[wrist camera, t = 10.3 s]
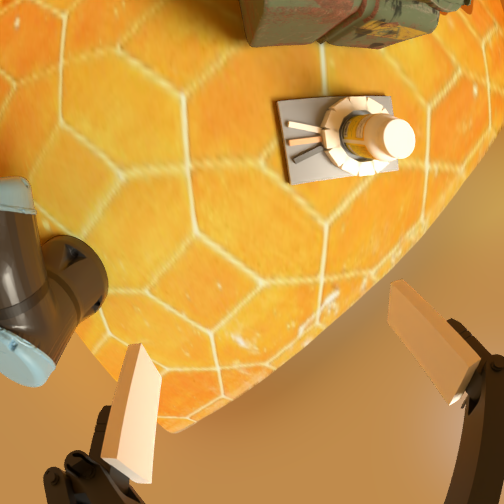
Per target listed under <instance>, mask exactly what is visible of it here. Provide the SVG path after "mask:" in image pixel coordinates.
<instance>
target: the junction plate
mask: <svg viewBox="0 0 504 504" xmlns="http://www.w3.org/2000/svg"><path fill="white" fill-rule="evenodd" d="M276 104H277V110H278V116H279V121H280V127H281V133H282V139H283V145H284V151H285V157H286V164H287V170H288V177H289V184H290V185H295V184H301V183H308V182H314V181H321V180H327V179H334V178H341V177H348V176H367V175H375V173H380V172H389V171H398V159H396V160H394V161H390V162H384V161H379V160H374V159H370V158H365V157H360V156H356V155H353V154H352V153H350V152H349V151H348V150H347V149H346V148H345V146H344V145H343V142H342V139H341V130H342V126H343V124H344V123H345V121H346V120H347V119H349V118H350V117H353V116H356V115H366V114H377V113H386V114H390V115H392V116H394V115H393V108H392V101H391V96H340V97H320V98H306V99H295V100H286V101H278V102H276Z"/></svg>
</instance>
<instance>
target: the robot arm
mask: <svg viewBox="0 0 504 504" xmlns="http://www.w3.org/2000/svg"><path fill="white" fill-rule="evenodd" d="M36 214H37V212H36V210H35V209H34V203H33V197H32V190H31V186H30V183H29V182H28V181H27V179H25V178H24V177H21V176H10V177H0V372H1V373H2V374H4V375H5V376H6V377H8V378H9V379H11V380H13V381H15V382H17V383H19V384H21V385H24V386H28V387H38V386H41V385H43V384H44V383H45V382H46V381H47V379H48V377H49V376H50V374H51V372H52V371H54V370H55V368H56V365H57V362H58V361H59V359H60V357H61V355H62V353H63V351H64V349H65V347H66V345H67V343H68V342H69V340H70V338H71V336H72V334H73V332H74V331H75V329H76V327H77V325H78V324H79V323H81V322H82V321H84V320H85V319H87V318H88V317H90V316H91V315H93V314H94V313H96V312H97V311H98V310H99V308H100V307H101V305H102V304H103V302H104V300H105V298H106V296H107V293H108V277H107V273H106V270H105V268H104V265H103V263H102V262H101V260H100V258H99V257H98V255H97V254H96V253H95V252H94V251H93V250H92V249H91V248H90V247H89V246H88V245H87V244H85V243H84V242H82V241H81V240H79V239H77V238H74V237H71V236H57V237H54V238H52V239H50V240H49V241H47V242H46V243H45V244H44V245H42V246H41V244H40V238H39V233H38V227H37V220H36ZM387 323H388V324H389V325H390V326H391V328H392V329H393V330H394V332H395V333H396V334H397V335H398V337H399V338H400V339H401V341H402V342H403V343H404V345H405V346H406V347H407V349H408V350H409V351H410V352H411V354H412V355H413V357H414V358H415V359H416V360H417V362H418V363H419V365H420V366H421V367H422V369H423V370H424V371H425V373H426V374H427V376H428V377H429V378H430V380H431V381H432V383H433V384H434V385H435V387H436V388H437V390H438V391H439V392H440V394H441V395H442V397H443V398H444V400H445V401H446V403H447V404H448V405H451V404H452V403H454V402H456V401H457V400H459V399H460V398H461V397H462V395H463V393H464V391H466V392H467V393H468V396H467V397H466V399H465V401H464V402H463V404H462V407H461V408H464V406H465V404H466V408H465V416H464V424H463V429H462V435H461V441H460V446H459V451H458V456H457V460H456V464H455V468H454V472H453V476H452V479H451V483H450V487H449V490H448V493H447V496H446V499H445V502H444V504H498V503H499V499H500V495H501V490H502V486H503V481H504V357H503V356H501V355H498V354H496V355H491V354H490V353H489V352H488V351H487V350H486V349H485V348H484V347H483V346H482V344H481V343H480V342H479V341H478V340H477V339H476V338H475V337H474V336H472V334H471V333H470V332H469V331H467V329H466V328H465V327H464V326H463V325H462V324H461V323H460V322H458V321H456V320H454V319H452V318H451V319H449V320H447V321H446V320H445V319H444V318H443V317H442V316H441V315H440V314H439V313H438V312H437V311H436V310H435V309H434V308H433V307H432V306H431V305H430V304H428V303H427V301H426V300H425V299H424V298H422V297H421V296H420V295H419V294H418V293H417V292H416V291H415V290H414V289H413V288H412V287H411V286H410V285H409V284H408V283H407V282H406V281H404V280H403V279H400V280H397V281H394V282H391V287H390V299H389V309H388V319H387ZM161 381H162V377H161V376H160V374H159V372H158V371H157V369H156V367H155V366H154V364H153V362H152V361H151V359H150V357H149V356H148V354H147V352H146V350H145V349H144V347H143V345H142V343H139V344H132V345H128V349H127V352H126V355H125V359H124V362H123V365H122V369H121V372H120V376H119V379H118V383H117V387H116V391H115V394H114V398H113V402H112V405H111V406H104V407H103V408H102V410H101V412H100V413H99V415H98V419H97V425H96V427H95V433H94V435H93V439H92V444H91V449H90V452H89V456H88V455H87V454H86V453H85V452H83V451H80V450H76V451H73V452H71V453H69V454H68V455H67V457H66V459H65V462H64V467H65V470H66V472H64V471H62V470H61V469H59V468H57V467H51V468H49V469H47V471H46V472H45V474H44V477H43V479H44V480H43V481H44V487H45V493H46V498H47V503H48V504H145V503H144V501H143V500H142V499H141V498H140V497H139V495H138V494H137V493H136V491H135V490H134V489H133V487H132V486H131V485H129V479H131V480H133V481H134V482H136V483H149V484H151V483H152V468H153V454H154V442H155V432H156V422H157V413H158V404H159V396H160V388H161Z"/></svg>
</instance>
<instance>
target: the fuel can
mask: <svg viewBox="0 0 504 504" xmlns="http://www.w3.org/2000/svg"><path fill="white" fill-rule="evenodd" d="M239 3H240V8H241V13H242V18H243V23H244V29H245V33H246V38H247V41H248V43H249V45H250V46H251V47H263V46H279V45H306V44H311V43H313V42H314V41H315V40H316V41H317V42H319V43H320V44H321V43H323V42H324V41H327V42H328V43H329V44H332V45H337V46H350V47H362V48H371V49H381V48H384V47H387V46H389V45H392V44H395V43H399V42H402V41H405V40H408V39H411V38H415V37H418V36H422V35H425V34H429V33H432V32H433V31H434V29H435V28H436V27H437V25H438V20H439V14H440V11H442V12H453V11H456V10H458V9H459V8H460V7H461V5H467V6H468V5H470V4H471V0H239Z"/></svg>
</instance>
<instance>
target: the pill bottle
mask: <svg viewBox="0 0 504 504" xmlns="http://www.w3.org/2000/svg"><path fill="white" fill-rule="evenodd" d="M341 139H342V142H343V145H344V146H345V148H346V149H347V150H348V151H349V152H350V153H352V154H353V155H356V156H360V157H365V158H370V159H374V160H379V161H384V162H390V161H394V160H396V159H402V158H406V157H408V156H409V155H410V154H411V153H412V151H413V149H414V146H415V135H414V132H413V129H412V128H411V126H410V125H409V124H408V123H407V122H406V121H404V120H402V119H397V118H396V117H394V116H392V115H390V114H386V113H377V114H366V115H356V116H353V117H350V118H349V119H347V120H346V121H345V123H344V124H343V126H342V130H341Z"/></svg>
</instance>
